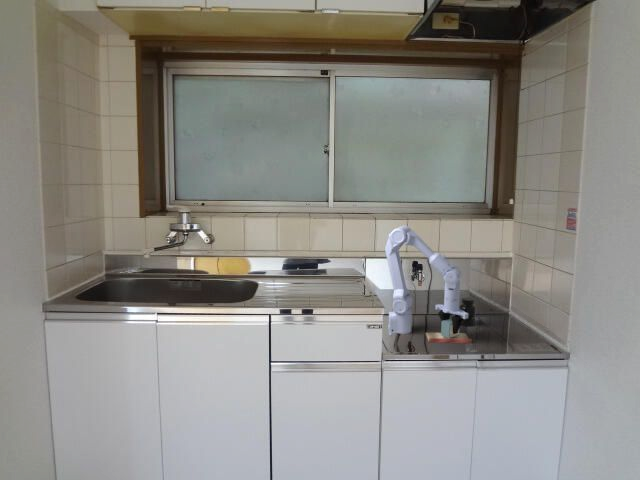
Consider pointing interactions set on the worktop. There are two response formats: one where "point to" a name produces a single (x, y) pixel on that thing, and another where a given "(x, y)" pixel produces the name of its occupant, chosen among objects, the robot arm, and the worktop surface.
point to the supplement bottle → (468, 311)
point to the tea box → (448, 329)
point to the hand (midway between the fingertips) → (450, 331)
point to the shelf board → (440, 339)
